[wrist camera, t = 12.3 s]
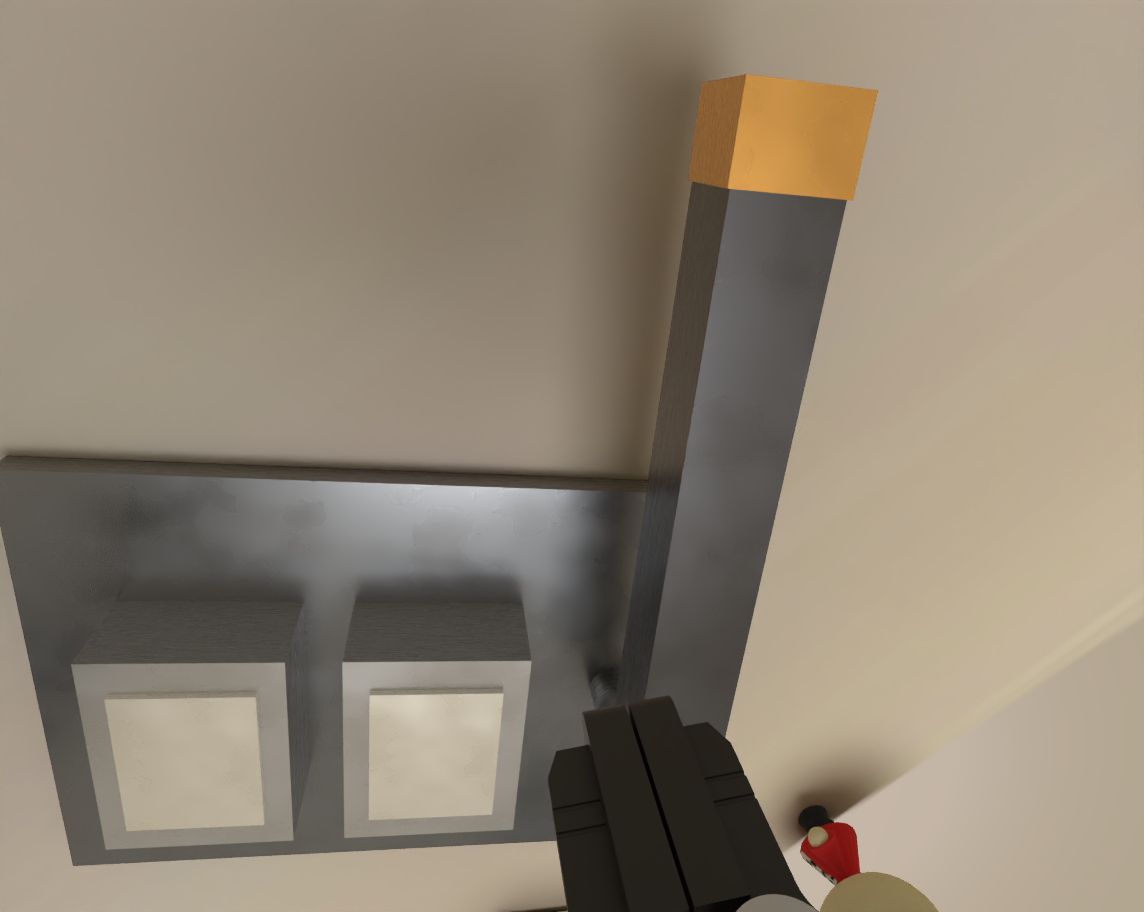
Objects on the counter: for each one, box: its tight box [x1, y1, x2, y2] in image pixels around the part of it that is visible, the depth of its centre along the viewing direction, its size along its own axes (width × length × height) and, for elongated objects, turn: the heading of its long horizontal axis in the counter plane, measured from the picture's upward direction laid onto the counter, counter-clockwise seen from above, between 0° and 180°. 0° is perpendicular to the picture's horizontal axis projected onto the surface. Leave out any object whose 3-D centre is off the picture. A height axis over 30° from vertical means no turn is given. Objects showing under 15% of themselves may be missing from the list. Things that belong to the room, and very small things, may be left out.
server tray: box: [0, 456, 648, 866], centre depth 30 cm, size 25×20×7 cm
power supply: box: [342, 602, 532, 838], centre depth 31 cm, size 7×9×4 cm
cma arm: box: [615, 74, 878, 737], centre depth 23 cm, size 27×4×4 cm, turn 174°
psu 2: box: [71, 601, 310, 850], centre depth 29 cm, size 7×9×4 cm
